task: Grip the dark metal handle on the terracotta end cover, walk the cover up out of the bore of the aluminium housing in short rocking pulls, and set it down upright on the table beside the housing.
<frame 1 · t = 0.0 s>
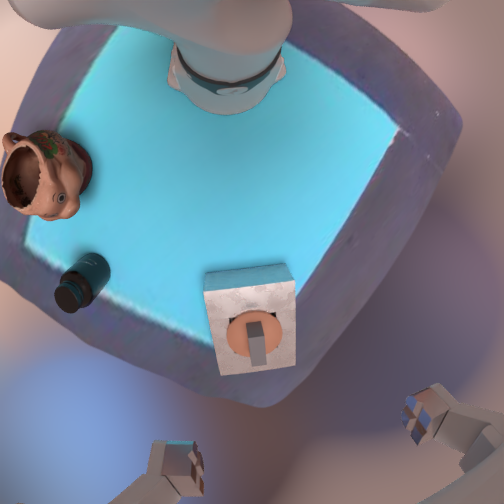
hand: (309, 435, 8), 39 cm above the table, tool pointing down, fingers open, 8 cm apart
brown ceramic cup shape: (65, 165, 38), on the table
supplement bottle: (95, 269, 45), on the table
housing: (250, 311, 51), on the table
end cover: (251, 316, 49), point 1 cm above the table, touching housing
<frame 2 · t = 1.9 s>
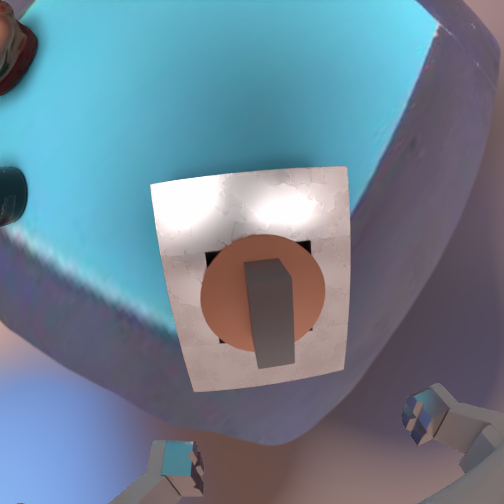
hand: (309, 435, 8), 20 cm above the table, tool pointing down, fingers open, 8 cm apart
brown ceramic cup shape: (10, 60, 17), on the table
supplement bottle: (11, 194, 22), on the table
housing: (253, 267, 27), on the table
end cover: (255, 271, 26), point 1 cm above the table, touching housing
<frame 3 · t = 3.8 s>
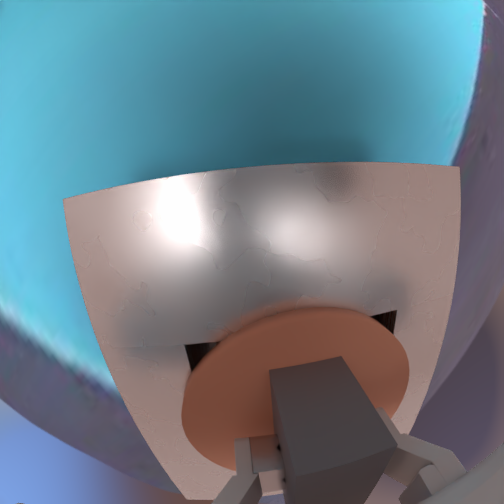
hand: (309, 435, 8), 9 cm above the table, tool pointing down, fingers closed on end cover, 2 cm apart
housing: (272, 326, 16), on the table
end cover: (277, 339, 15), point 1 cm above the table, touching gripper, housing
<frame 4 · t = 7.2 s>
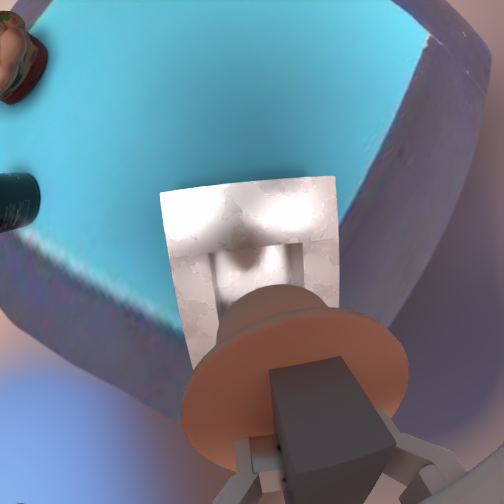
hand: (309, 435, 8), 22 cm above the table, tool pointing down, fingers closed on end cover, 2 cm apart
brown ceramic cup shape: (20, 70, 20), on the table
supplement bottle: (24, 199, 25), on the table
housing: (252, 268, 29), on the table
end cover: (277, 340, 15), point 15 cm above the table, touching gripper
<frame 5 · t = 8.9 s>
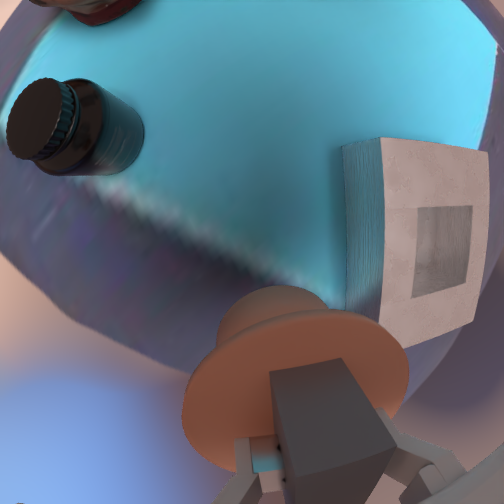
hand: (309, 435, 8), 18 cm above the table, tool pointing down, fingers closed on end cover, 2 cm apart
supplement bottle: (111, 139, 21), on the table
housing: (403, 233, 26), on the table
end cover: (277, 341, 15), point 11 cm above the table, touching gripper
when the fingers open (9 cm above the table, at t = 10.4 s): end cover drops 2 cm, on the table.
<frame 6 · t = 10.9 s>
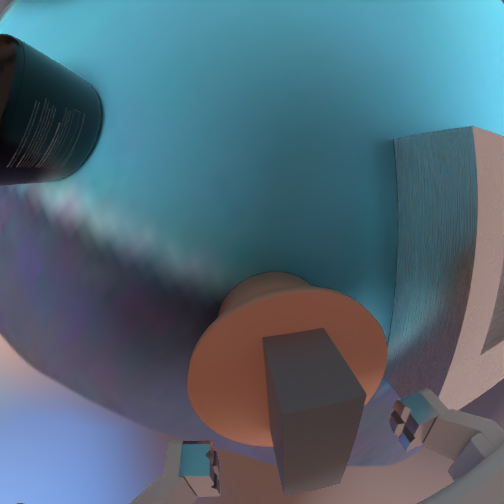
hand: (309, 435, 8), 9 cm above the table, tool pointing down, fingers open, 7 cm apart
supplement bottle: (61, 130, 13), on the table
housing: (459, 259, 17), on the table
end cover: (271, 322, 17), on the table
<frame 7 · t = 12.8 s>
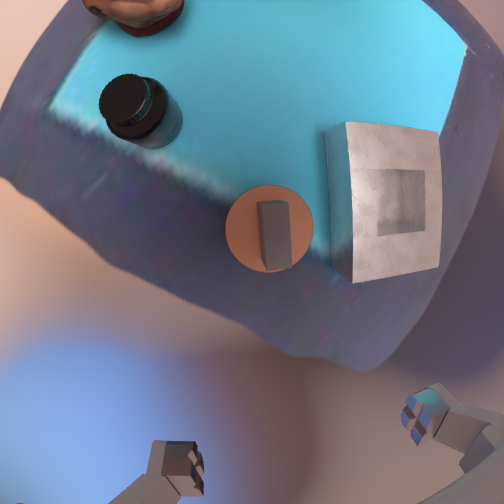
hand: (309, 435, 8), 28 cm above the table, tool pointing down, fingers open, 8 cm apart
brown ceramic cup shape: (143, 10, 25), on the table
supplement bottle: (156, 123, 30), on the table
housing: (374, 197, 35), on the table
end cover: (262, 221, 34), on the table
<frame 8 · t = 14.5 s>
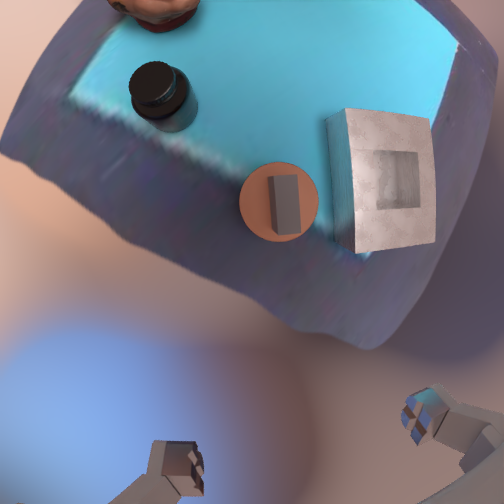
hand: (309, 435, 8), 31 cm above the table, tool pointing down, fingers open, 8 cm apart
brown ceramic cup shape: (159, 9, 28), on the table
supplement bottle: (173, 110, 33), on the table
housing: (373, 179, 37), on the table
end cover: (271, 199, 37), on the table
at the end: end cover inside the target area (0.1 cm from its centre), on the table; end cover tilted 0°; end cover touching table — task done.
